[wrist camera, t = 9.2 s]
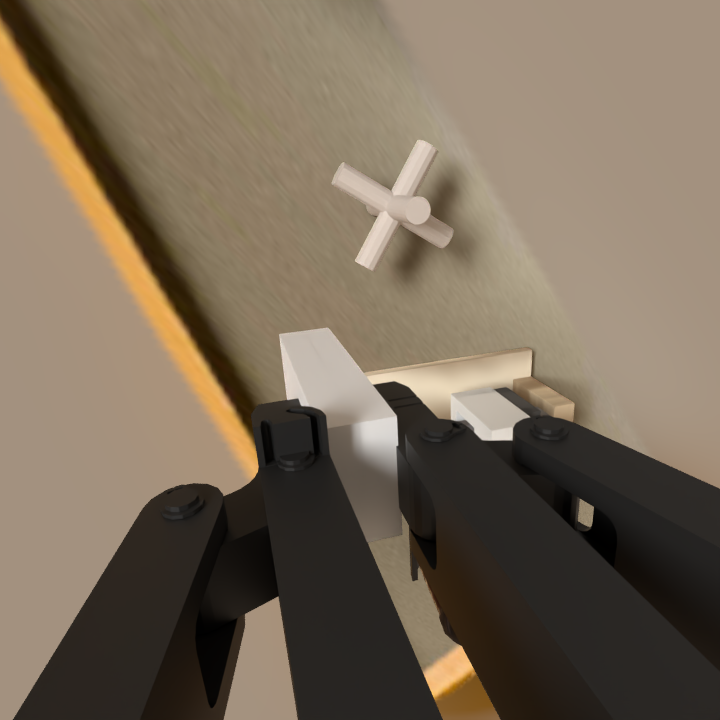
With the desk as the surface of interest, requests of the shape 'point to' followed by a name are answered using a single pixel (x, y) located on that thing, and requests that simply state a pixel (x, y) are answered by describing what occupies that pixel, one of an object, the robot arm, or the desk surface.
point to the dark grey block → (518, 401)
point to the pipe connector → (395, 205)
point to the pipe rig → (476, 381)
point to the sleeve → (486, 413)
